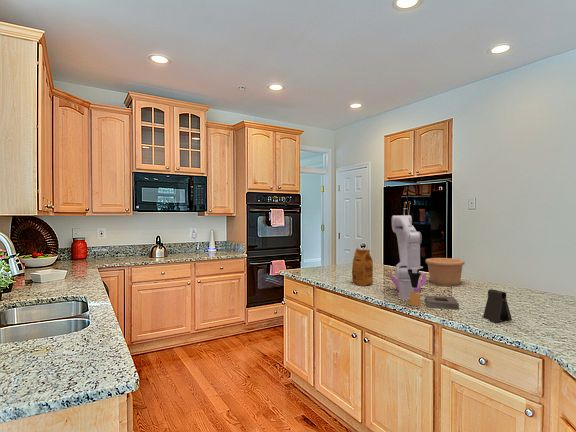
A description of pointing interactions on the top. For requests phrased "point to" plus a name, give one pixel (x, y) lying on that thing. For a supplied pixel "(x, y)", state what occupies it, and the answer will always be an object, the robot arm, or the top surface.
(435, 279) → the pottery
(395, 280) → the teakettle
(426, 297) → the pocket holder
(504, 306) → the phone stand
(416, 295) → the orange block
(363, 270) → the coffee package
